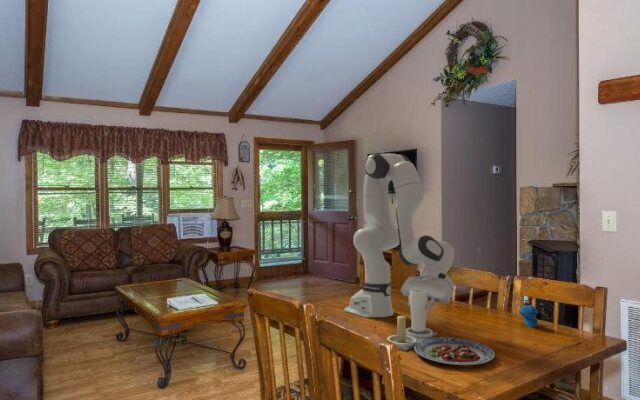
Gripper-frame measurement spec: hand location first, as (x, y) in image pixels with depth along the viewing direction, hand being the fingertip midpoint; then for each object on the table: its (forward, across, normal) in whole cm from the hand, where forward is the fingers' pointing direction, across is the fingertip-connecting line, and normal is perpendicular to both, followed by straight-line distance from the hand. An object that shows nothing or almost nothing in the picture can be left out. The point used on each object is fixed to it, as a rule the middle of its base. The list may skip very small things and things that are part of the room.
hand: (418, 307), depth 177 cm
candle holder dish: (+12, +1, +4) cm, 12 cm away
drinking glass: (+6, 0, +7) cm, 9 cm away
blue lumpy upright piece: (-23, +25, +38) cm, 51 cm away
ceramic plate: (+15, +20, +1) cm, 25 cm away
